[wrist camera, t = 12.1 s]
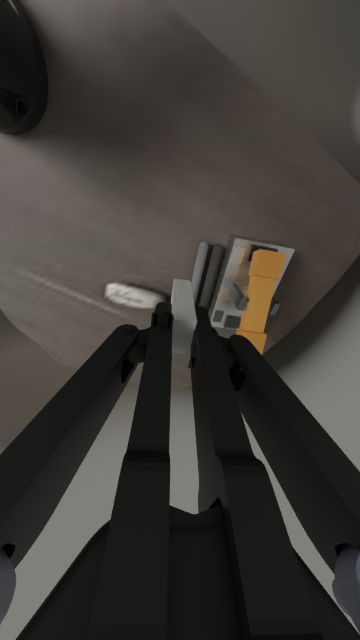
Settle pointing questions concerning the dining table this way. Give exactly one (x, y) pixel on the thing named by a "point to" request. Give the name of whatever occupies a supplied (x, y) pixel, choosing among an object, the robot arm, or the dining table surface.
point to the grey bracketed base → (240, 280)
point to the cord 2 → (211, 275)
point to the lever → (260, 295)
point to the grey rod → (199, 268)
